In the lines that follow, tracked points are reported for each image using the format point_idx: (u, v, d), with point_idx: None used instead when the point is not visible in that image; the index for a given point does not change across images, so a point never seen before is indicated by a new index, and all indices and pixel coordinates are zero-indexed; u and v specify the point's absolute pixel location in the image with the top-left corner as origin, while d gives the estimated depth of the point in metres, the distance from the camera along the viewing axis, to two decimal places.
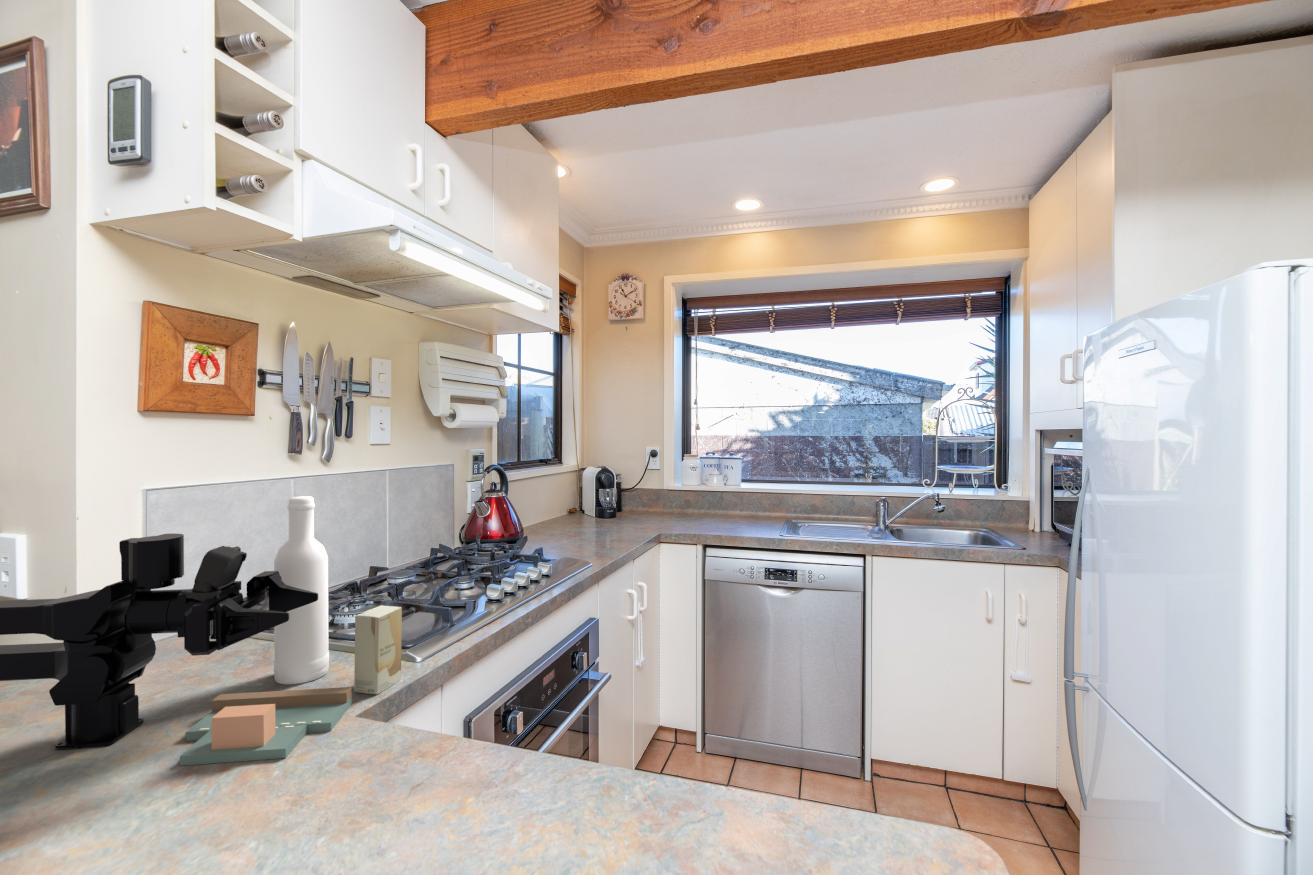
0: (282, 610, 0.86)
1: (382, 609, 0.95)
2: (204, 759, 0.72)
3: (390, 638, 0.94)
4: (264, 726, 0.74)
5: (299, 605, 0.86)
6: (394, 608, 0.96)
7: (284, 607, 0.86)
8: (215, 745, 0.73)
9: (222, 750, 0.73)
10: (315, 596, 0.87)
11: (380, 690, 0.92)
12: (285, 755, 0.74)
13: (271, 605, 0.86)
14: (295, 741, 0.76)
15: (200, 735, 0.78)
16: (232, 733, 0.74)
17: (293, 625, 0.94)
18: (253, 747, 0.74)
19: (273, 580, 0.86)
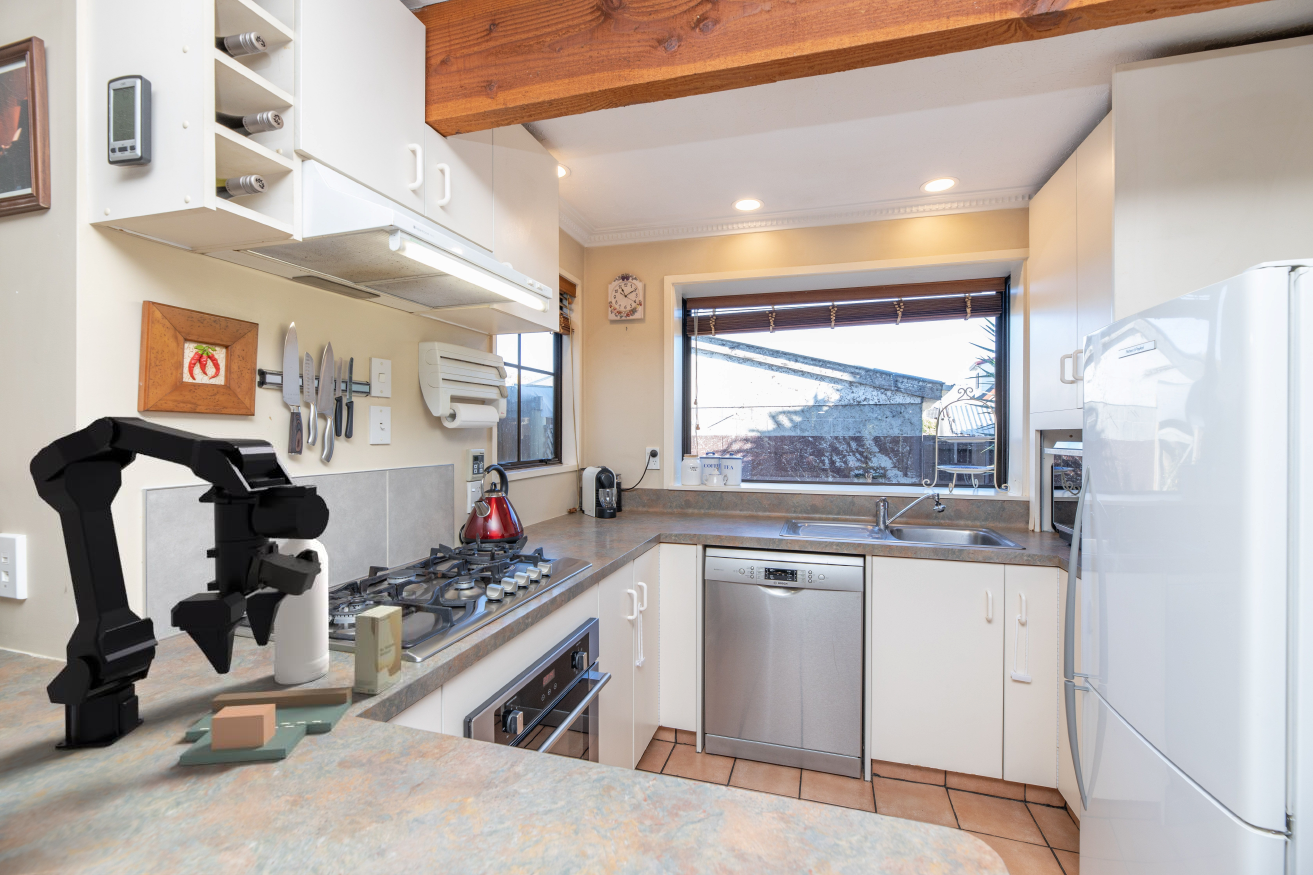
0: (247, 609, 0.79)
1: (382, 609, 0.95)
2: (204, 759, 0.72)
3: (390, 638, 0.94)
4: (264, 726, 0.74)
5: (252, 627, 0.79)
6: (394, 608, 0.96)
7: (251, 611, 0.79)
8: (215, 745, 0.73)
9: (222, 750, 0.73)
10: (263, 643, 0.80)
11: (380, 690, 0.92)
12: (285, 755, 0.74)
13: (254, 596, 0.80)
14: (295, 741, 0.76)
15: (200, 735, 0.78)
16: (232, 733, 0.74)
17: (293, 625, 0.94)
18: (253, 747, 0.74)
19: (284, 596, 0.80)
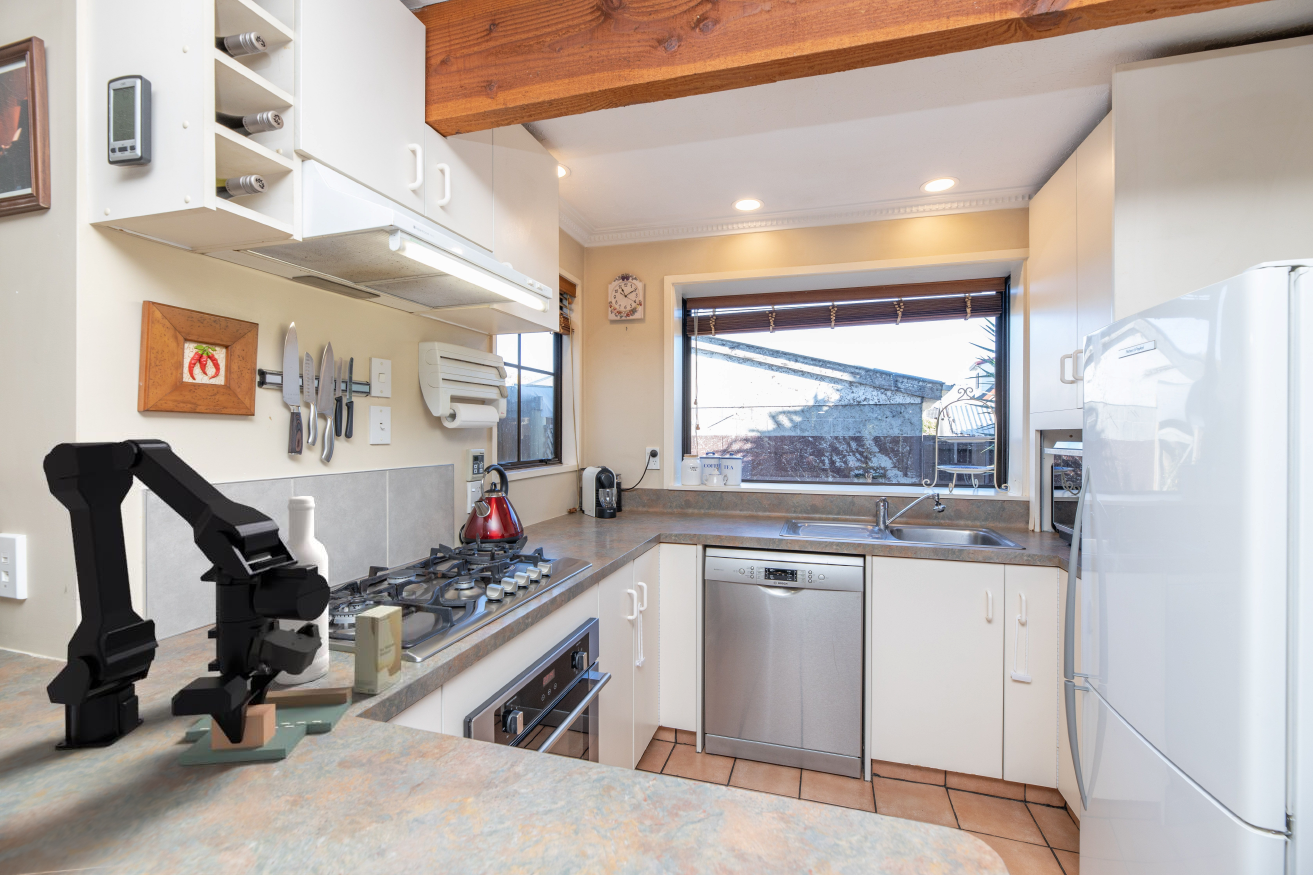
0: None
1: (382, 609, 0.95)
2: (204, 759, 0.72)
3: (390, 638, 0.94)
4: (264, 726, 0.74)
5: None
6: (394, 608, 0.96)
7: None
8: (215, 745, 0.73)
9: (222, 750, 0.73)
10: None
11: (380, 690, 0.92)
12: (285, 755, 0.74)
13: None
14: (295, 741, 0.76)
15: (200, 735, 0.78)
16: None
17: (293, 625, 0.94)
18: (253, 747, 0.74)
19: (274, 678, 0.78)
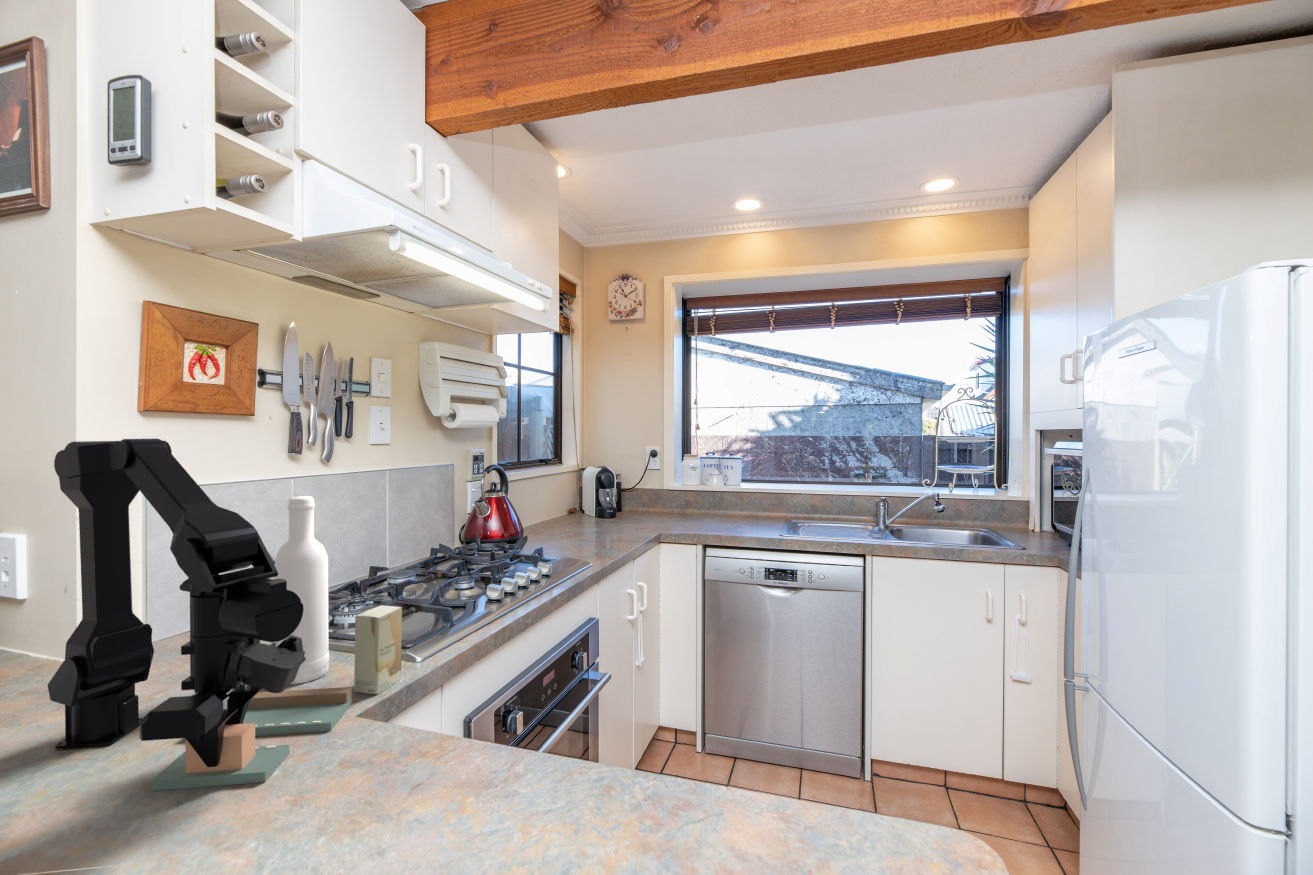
0: None
1: (382, 609, 0.95)
2: (177, 783, 0.67)
3: (390, 638, 0.94)
4: (242, 747, 0.69)
5: None
6: (394, 608, 0.96)
7: None
8: (189, 768, 0.68)
9: (196, 774, 0.68)
10: None
11: (380, 690, 0.92)
12: (265, 779, 0.69)
13: None
14: (276, 763, 0.71)
15: None
16: None
17: None
18: (230, 770, 0.69)
19: (253, 695, 0.73)
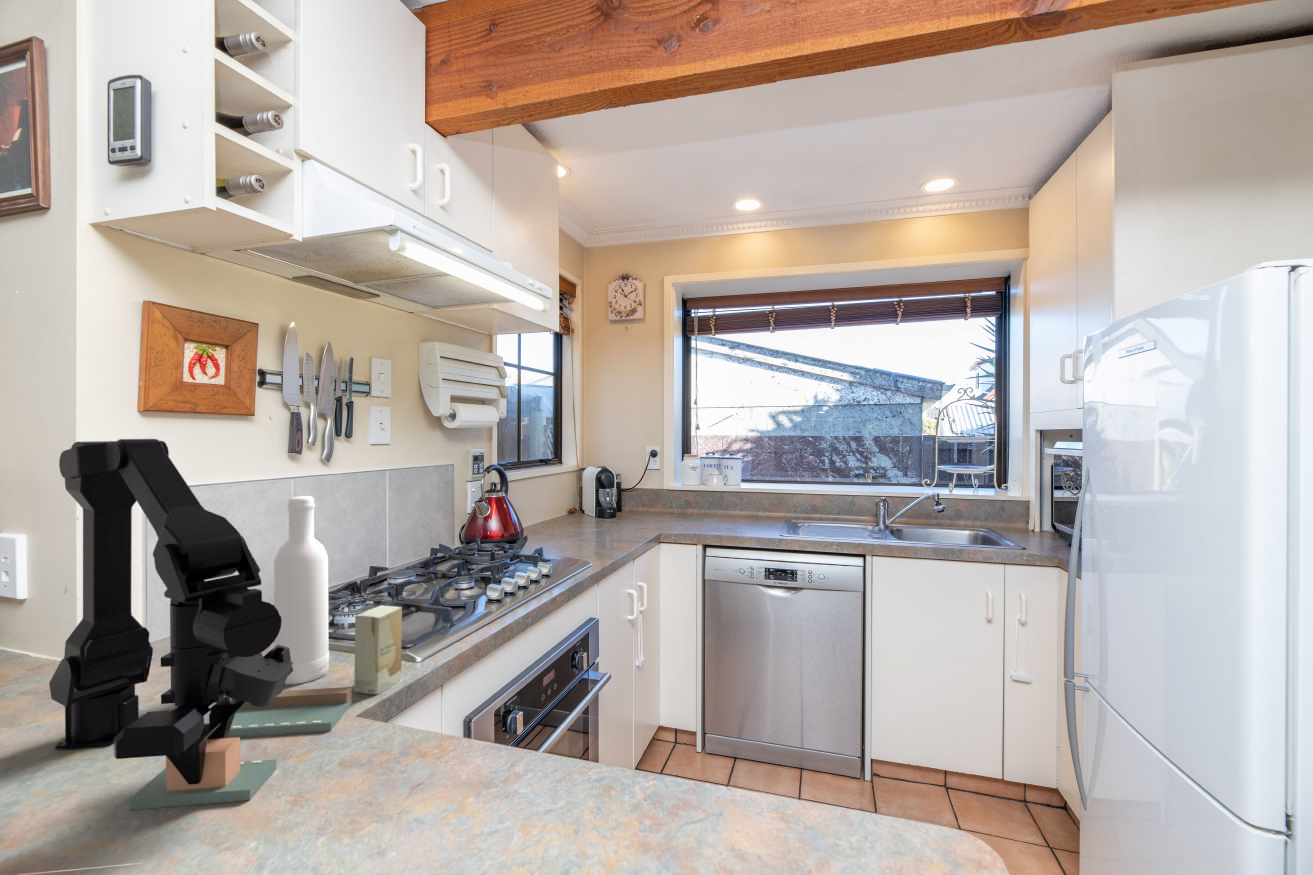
0: None
1: (382, 609, 0.95)
2: (157, 802, 0.64)
3: (390, 638, 0.94)
4: (226, 763, 0.66)
5: None
6: (394, 608, 0.96)
7: None
8: (170, 786, 0.65)
9: (177, 792, 0.65)
10: None
11: (380, 690, 0.92)
12: (249, 797, 0.65)
13: None
14: (262, 779, 0.68)
15: None
16: None
17: (293, 625, 0.94)
18: (213, 788, 0.65)
19: (238, 708, 0.69)
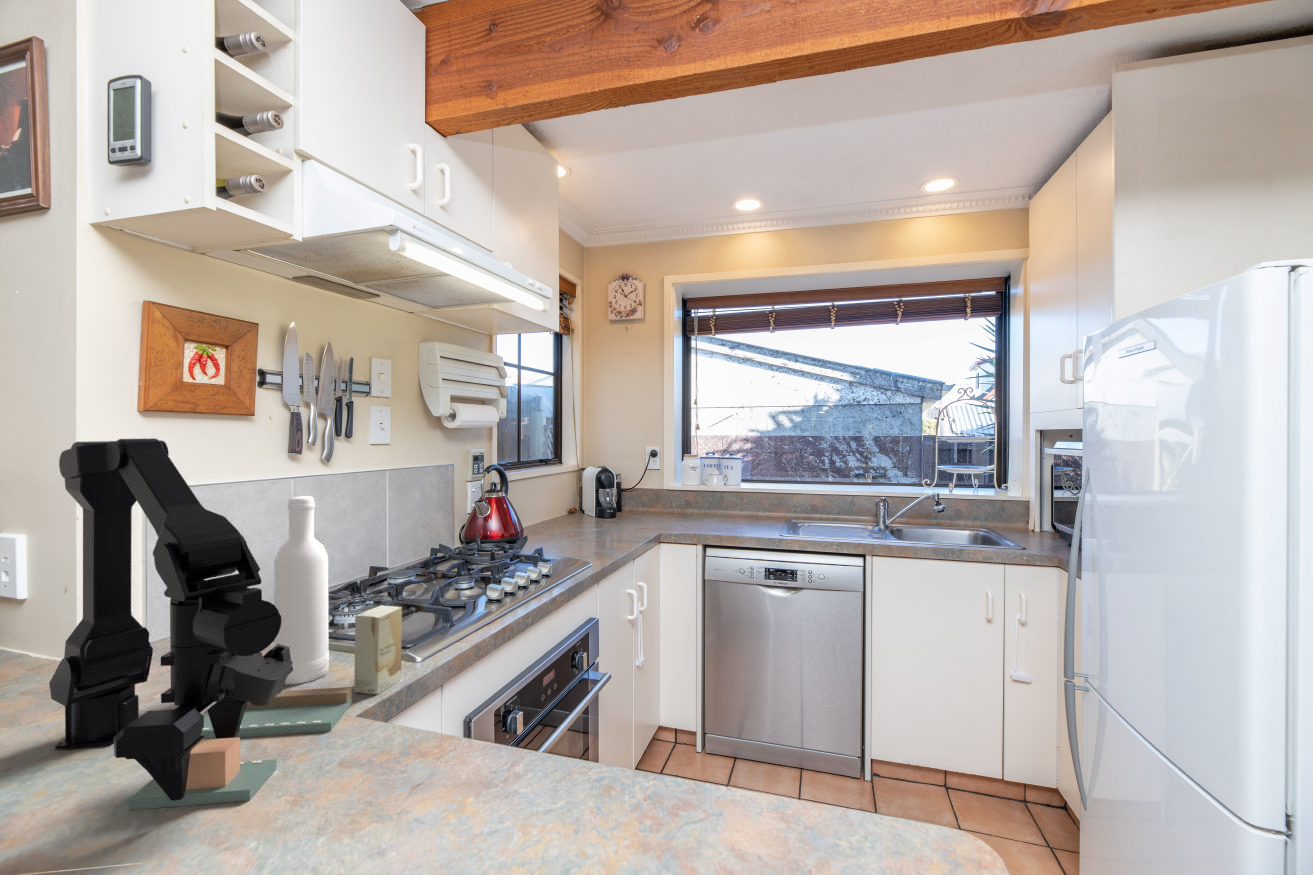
0: (210, 711, 0.71)
1: (382, 609, 0.95)
2: (157, 802, 0.64)
3: (390, 638, 0.94)
4: (226, 763, 0.66)
5: (216, 732, 0.71)
6: (394, 608, 0.96)
7: (214, 713, 0.71)
8: None
9: None
10: None
11: (380, 690, 0.92)
12: (249, 797, 0.65)
13: None
14: (262, 780, 0.68)
15: (200, 735, 0.78)
16: (190, 772, 0.65)
17: (293, 625, 0.94)
18: (213, 788, 0.65)
19: None
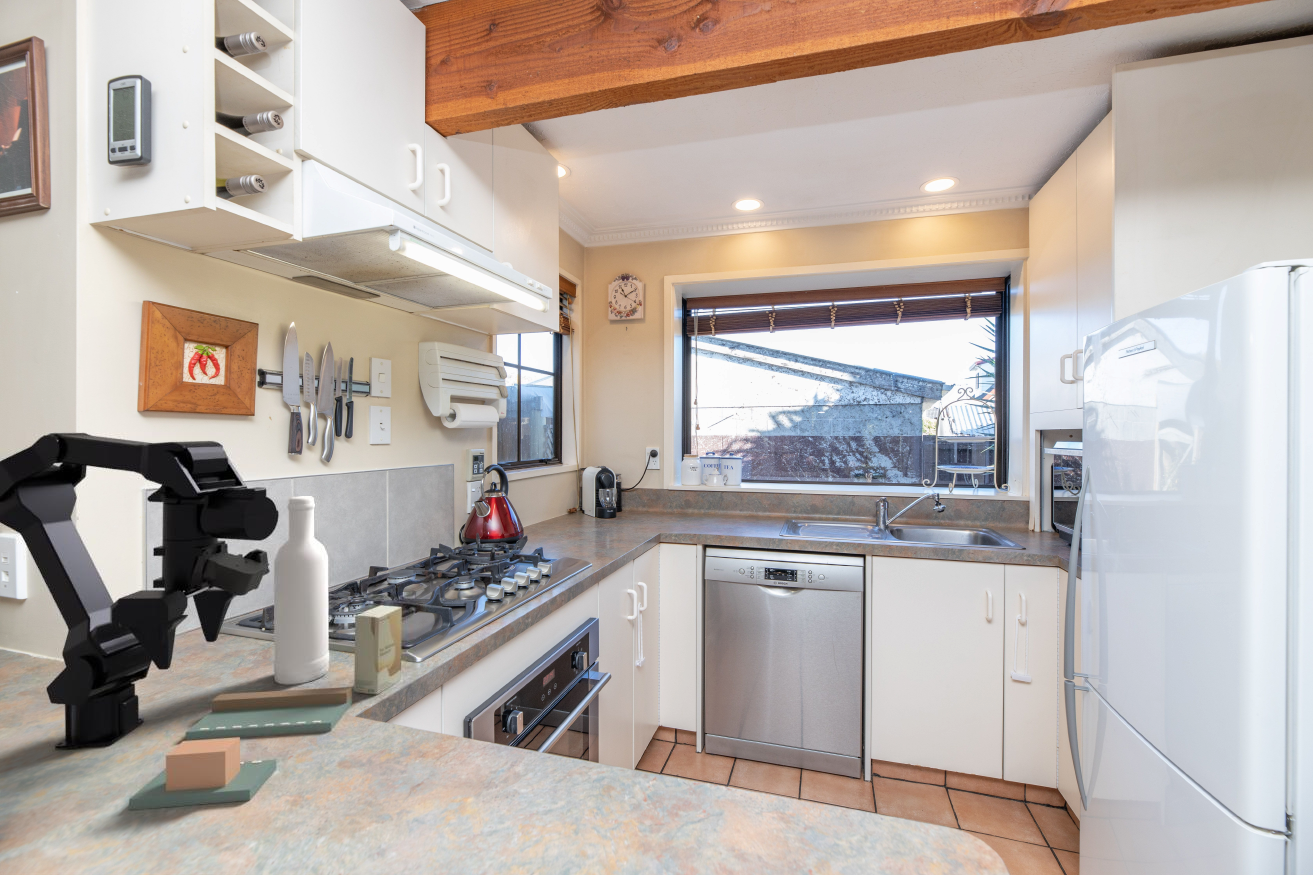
0: (198, 605, 0.81)
1: (382, 609, 0.95)
2: (157, 802, 0.64)
3: (390, 638, 0.94)
4: (226, 763, 0.66)
5: (202, 623, 0.81)
6: (394, 608, 0.96)
7: (201, 607, 0.81)
8: (170, 786, 0.65)
9: (177, 792, 0.65)
10: (211, 639, 0.81)
11: (380, 690, 0.92)
12: (249, 797, 0.65)
13: (205, 593, 0.82)
14: (262, 780, 0.68)
15: (200, 735, 0.78)
16: (190, 772, 0.65)
17: (293, 625, 0.94)
18: (213, 788, 0.65)
19: (234, 595, 0.82)
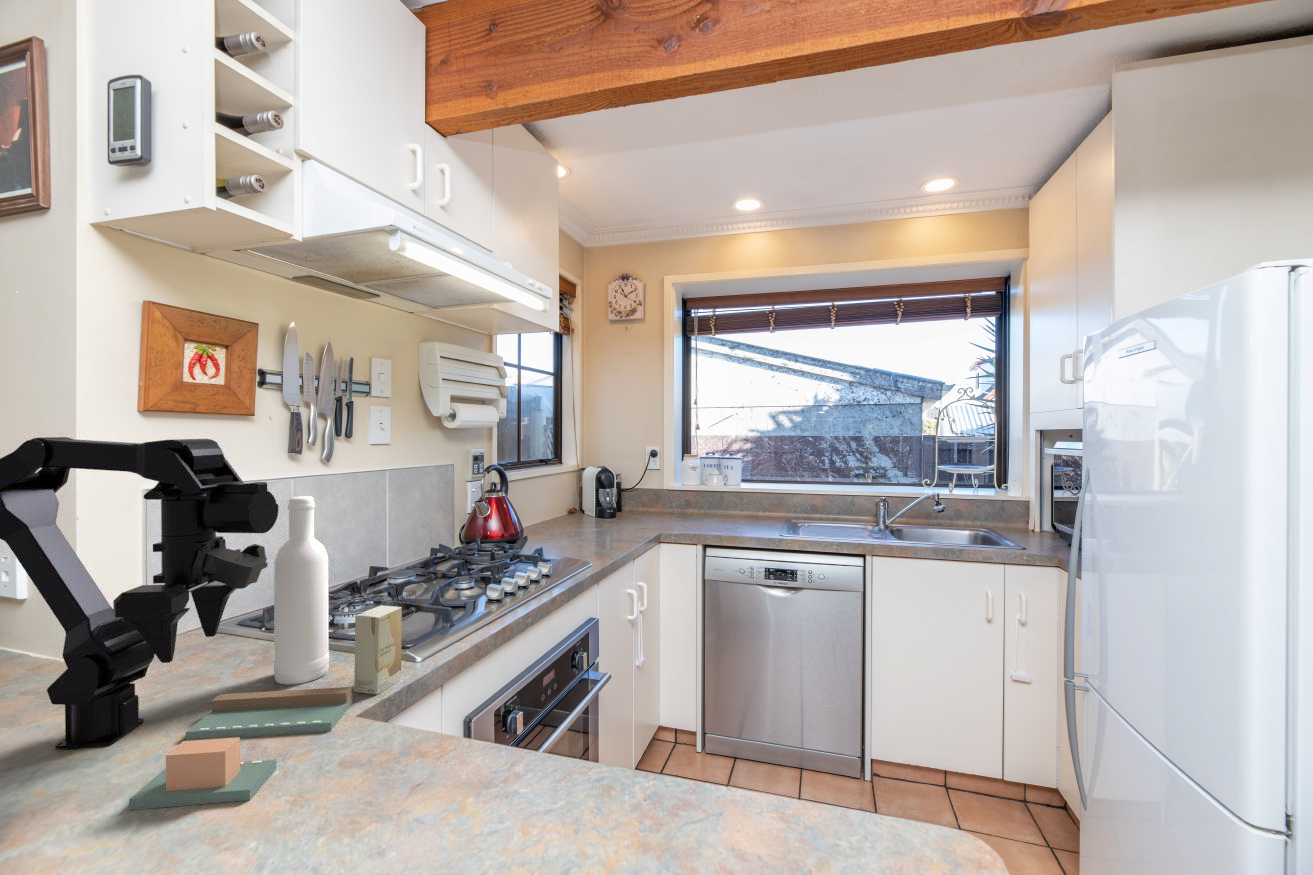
0: (196, 601, 0.83)
1: (382, 609, 0.95)
2: (157, 802, 0.64)
3: (390, 638, 0.94)
4: (226, 763, 0.66)
5: (201, 619, 0.83)
6: (394, 608, 0.96)
7: (199, 603, 0.83)
8: (170, 786, 0.65)
9: (177, 792, 0.65)
10: (211, 634, 0.83)
11: (380, 690, 0.92)
12: (249, 797, 0.65)
13: (203, 589, 0.83)
14: (262, 780, 0.68)
15: (200, 735, 0.78)
16: (190, 772, 0.65)
17: (293, 625, 0.94)
18: (213, 788, 0.65)
19: (232, 590, 0.84)
